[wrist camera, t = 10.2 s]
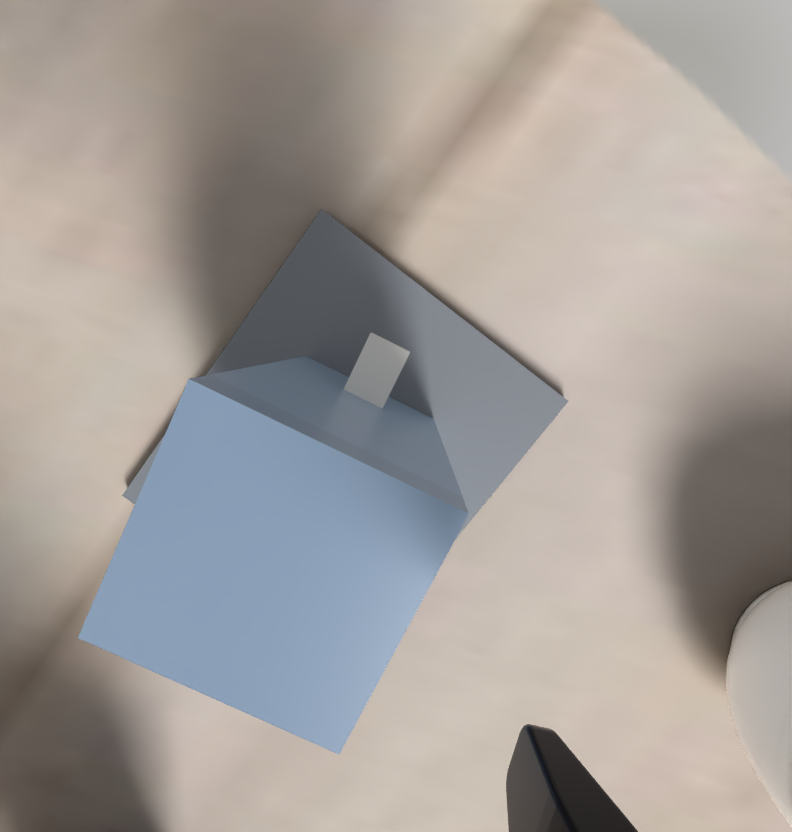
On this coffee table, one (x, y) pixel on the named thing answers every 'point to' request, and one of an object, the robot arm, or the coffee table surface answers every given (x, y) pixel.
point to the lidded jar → (765, 691)
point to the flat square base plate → (408, 328)
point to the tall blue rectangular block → (283, 541)
